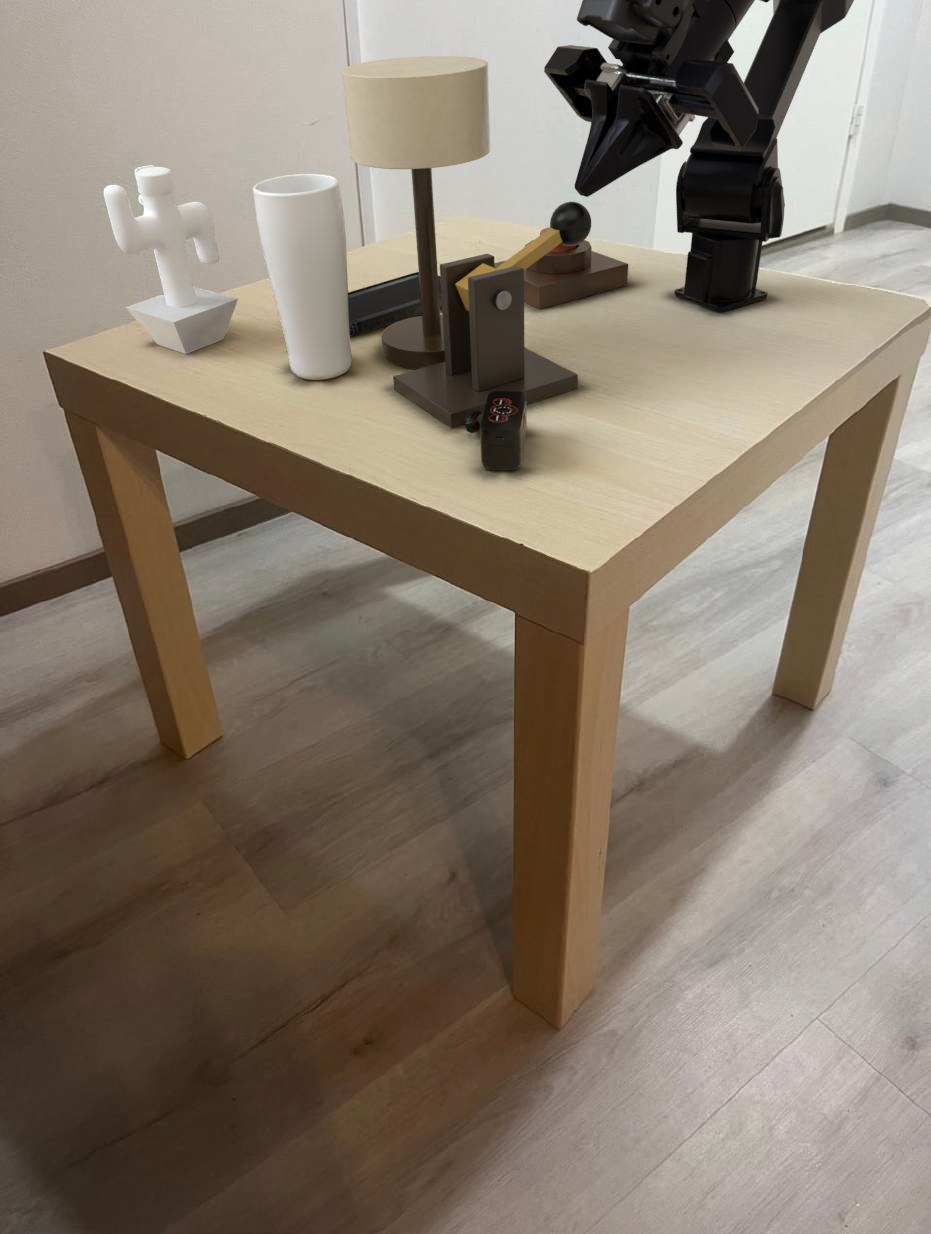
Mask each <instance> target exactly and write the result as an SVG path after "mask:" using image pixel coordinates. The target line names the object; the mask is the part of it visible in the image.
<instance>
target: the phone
mask: <svg viewBox="0 0 931 1234" xmlns="http://www.w3.org/2000/svg"><path fill="white" fill-rule="evenodd" d="M438 287H439V304H440V308H442V297H441V280H440V275H438ZM348 306H349V331H350V337H351V336H359V335H361V334H364V333H367V332H371V331H373V330H376V329H379V328H382V327H385V326H390V325H391V324H393V323H395V322H398V321H401V320H404V319H407V318H412V317H417V316H420V315H422V311H421V297H420V283H419V271H416V272H412V273H409V274H406V275H402V276H398V277H396V278H395V277H394V278H392V279H389V280H386V281H382V282H379V283H375V284H372V285H368V286H366V287H361V288H359V289H355V290H351V291H348Z"/></svg>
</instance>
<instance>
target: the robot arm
mask: <svg viewBox="0 0 931 1234" xmlns="http://www.w3.org/2000/svg"><path fill="white" fill-rule="evenodd" d="M755 1H756V0H582V1H581V4H580V7H579V10H578V13H577V17H576V21H577V22H578V23H579V24H580V25H582V26H584V27H588V26H589V27H592V28H593V29H595V30H596V31H599V32H600V33H602V34H603V35H605V36H607V37H608V38H610V39H612V40H611V41H610V44H609V45H608V47H607V48H608V51H610V53H611V55H612V56H613V58H614V59H615V60H619V61H620V63H621V64H622V65H621V64H617V63H609V62H608V61H607V60H606V59H605V58H604V55H603V54H602V53H601V51H600V50H599V48H598V47H591V46H582V45H575V44H568V45H567V44H566V45H561V46H557V47H556V48H555V50H554V52H553V53H552V55H551V57H550V58H549V60H548V61H547V63H546V64H545V65H544V68H543V69H544V70H543V72H544V74H545V75H546V76H547V78H548V79H549V80H550V82H551V83H552V84H553V85H554V87H555V88H556V89H557V91H558V92H559V93H560V95H561V96H562V97H563V99H564V100H565V101H566V103H568V105H569V106H570V108H571V109H572V110H573V112H574V113H575V114H576V115H577V116H578V117H579V118H580V119H581V120H583V121H585V122H588V123H590V127H589V132H588V137H587V139H586V143H585V147H584V151H583V154H582V157H581V161H580V164H579V168H578V172H577V175H576V179H575V183H574V189H575V191H576V192H577V194H578V195H580V196H583V197H586V198H588V197H591V196H593V195H594V194H595V193H598V192H599V191H600V190H602V189H604V188H605V187H607V186H608V185H610V184H611V183H613V182H615V181H617V180H618V179H620V178H622V177H623V176H625V175H626V174H628V173H629V172H632V171H633V170H635V169H636V168H638V167H640V166H643V165H644V164H645V163H648V162H649V161H651V160H653V159H655V158H657V157H659V156H661V155H663V154H664V153H667V152H668V151H671V150H679V149H680V148H681V147H682V146H683V144H684V141H683V140H682V138H681V137H680V135H681V133H682V132H683V131H684V129H685V127H687V125H688V123H689V122H691V123H692V122H694V120H695V119H696V116H698V117H704V118H706V119H705V120H704V121H703V122H702V124H701V126H700V129H699V132H698V134H697V137H696V139H695V141H694V143H693V144H692V146H690V148H689V153H690V154H689V156H688V158H687V160H686V161H683V163H682V164H681V166H680V168H679V171H678V175H677V179H676V186H675V204H676V206H675V207H676V230H677V231H676V232H677V233H679V234H684V233H688V234H691V242H690V249H689V250H690V251H688V252H687V258H686V269H685V279H684V286H682V287H679V288H675V289H674V296H676V297H677V298H680V299H684V300H686V301H689V302H692V303H694V304H697V305H699V306H702V307H705V308H708V309H709V310H713V311H716V312H725V311H728V310H729V311H730V310H732V309H737V308H739V307H743V306H746V305H749V304H752V303H756V302H758V301H762V300H765V299H768V294H769V292H767V291H764V290H762V289H759V288H757V284H758V276H759V271H760V264H761V258H762V257H761V256H762V249H763V242H764V243H766V242H768V241H769V240H770V239H777V238H781V237H782V235H783V234H782V233H783V227H784V220H785V207H786V203H785V196H784V195H785V194H784V186H783V181H782V174H781V169H780V168H779V155H778V154H779V153H778V151H779V150H778V138H777V137H778V135H779V133H780V131H781V129H782V126H783V123H784V121H785V118H786V116H787V114H788V112H789V110H790V107H791V104H792V102H793V99H794V97H795V95H796V92H797V90H798V88H799V85H800V83H801V80H802V78H803V76H804V74H805V71H806V69H807V66H808V64H809V61H810V59H811V57H812V54H813V52H814V50H815V47H816V44H817V42H818V40H819V38H820V35H821V34H823V33H824V32H825V31H828V30H829V29H831V28H832V27H833V26H835V25H837V24H838V23H840V22H841V21H843V20H844V19H845V18H846V17H847V15H848V13H849V12H850V9H851V7H852V6H853V4H854V2H855V0H772V8H773V9H772V12H773V15H772V17H771V18H770V21H769V24H768V26H767V28H766V30H765V32H764V35H763V36H762V37H763V38H762V40H761V42H760V44H759V47H758V49H757V51H756V53H755V56H754V58H753V61H752V63H751V65H750V67H749V69H748V72H747V74H746V76H745V79H744V80H743V79H742V77H741V75H740V74H739V72H738V70H737V68H736V66H735V65H734V63H733V62H729V61H730V60H731V58H732V56H733V55H734V54H735V51H734V49H733V46H732V44H731V43H730V41H729V40H730V38H731V37H732V35H733V34H734V32H735V31H736V29H737V28H738V26H739V25H740V23H741V22H742V20H743V19H744V17H745V16H746V15H747V13H748V12H749V10H750V8H751V7H752V5H753V4H754V3H755ZM759 1H761V2H764V3H765V4H766V3H769V2H770V1H771V0H759Z"/></svg>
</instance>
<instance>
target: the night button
mask: <svg viewBox="0 0 931 1234" xmlns="http://www.w3.org/2000/svg"><path fill="white" fill-rule="evenodd" d="M548 229H550V226H548V227H545V228H543V229H540V231H539V236H540V235H542V234H543V233H544V232H546V231H547V230H548ZM575 249H576V245H575V246H564V245H562V244H559V245H557V246H556V247H555V248H553V249H552V250H551V251H549V252H566V251H570V250H575Z"/></svg>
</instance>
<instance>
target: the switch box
mask: <svg viewBox="0 0 931 1234" xmlns="http://www.w3.org/2000/svg"><path fill="white" fill-rule="evenodd" d="M534 240H535V239H532V240H530V241H529V242H528V243H526V244H525V245H524V247H526V246H527V245H528V244H530V243H531V242H532V241H534ZM592 247H593V246H592V245H591V243H590V241H588V240H586V239H585V240H584V241H583V242H582V243H580V244H578V245H576V249H575V250H570V251H566V252H548V253H547V254H545V255H544V256H543V257H541V258H540V259H539V260H537V261H536V262H535V263H533V264H532V265H531V266H529V267H528V268H527V269H525V270H524V304H525V303H526V304H527V305H530V306H532V307H535V308H537V309H539V310H541V309H545V308H549V307H551V306H552V307H553V306H556V305H560V304H563V303H564V304H565V303H567V302H571V301H574V300H578V299H582V298H585V297H590V296H594V295H596V294H601V293H604V292H608V291H613V290H616V289H620V288H624V287H627V286H628V279H629V278H628V277H629V276H628V275H629V263H628V262H624V261H622V260H619V259H617V258H613V257H610V256H608V255H605V254H602V253H599V252H597V251H594V250H592ZM507 260H508V259H507ZM507 260H502V261H498V262H494V267H495V269H496V268H497V267H499V266H500V265H501V264H503V263H504V262H505V261H507Z"/></svg>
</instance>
